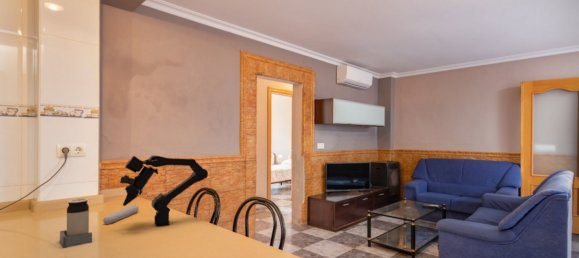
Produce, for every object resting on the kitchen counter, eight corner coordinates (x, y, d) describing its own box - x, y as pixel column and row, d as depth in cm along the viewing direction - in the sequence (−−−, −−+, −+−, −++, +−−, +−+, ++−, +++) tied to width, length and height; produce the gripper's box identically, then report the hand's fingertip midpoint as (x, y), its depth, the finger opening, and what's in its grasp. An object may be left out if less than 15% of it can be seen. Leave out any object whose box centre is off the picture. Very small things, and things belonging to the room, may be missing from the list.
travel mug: (92, 239, 136) (93, 198, 137) (75, 245, 129) (75, 202, 129) (80, 237, 139) (80, 197, 139) (62, 243, 131) (62, 201, 132)
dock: (87, 235, 142) (87, 226, 142) (92, 242, 132) (92, 232, 132) (59, 240, 135) (59, 231, 135) (62, 248, 125) (62, 238, 126)
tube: (111, 217, 158) (140, 206, 182) (102, 214, 158) (132, 203, 183) (108, 227, 158) (137, 214, 183) (99, 224, 158) (129, 211, 183)
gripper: (131, 170, 161) (112, 196, 156) (125, 168, 143) (103, 198, 138) (150, 180, 163) (132, 207, 158) (147, 180, 146) (126, 210, 141)
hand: (123, 205), depth 149 cm, fingers closed
